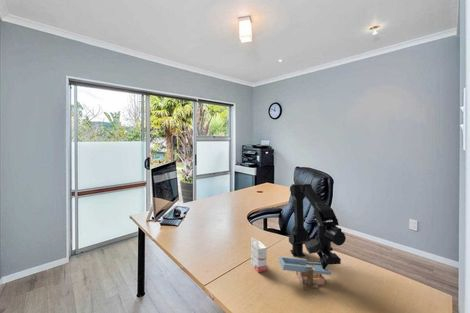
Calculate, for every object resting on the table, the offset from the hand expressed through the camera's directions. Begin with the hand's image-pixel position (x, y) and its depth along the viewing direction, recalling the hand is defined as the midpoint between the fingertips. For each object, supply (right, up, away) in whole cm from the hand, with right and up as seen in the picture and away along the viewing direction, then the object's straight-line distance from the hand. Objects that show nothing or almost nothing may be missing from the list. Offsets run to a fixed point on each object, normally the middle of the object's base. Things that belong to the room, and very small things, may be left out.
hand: (323, 268), depth 102 cm
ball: (-4, -3, 0) cm, 5 cm away
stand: (-8, -5, 0) cm, 10 cm away
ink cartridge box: (-29, -5, +11) cm, 31 cm away
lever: (-9, 0, -1) cm, 9 cm away
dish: (-6, -5, 0) cm, 8 cm away
